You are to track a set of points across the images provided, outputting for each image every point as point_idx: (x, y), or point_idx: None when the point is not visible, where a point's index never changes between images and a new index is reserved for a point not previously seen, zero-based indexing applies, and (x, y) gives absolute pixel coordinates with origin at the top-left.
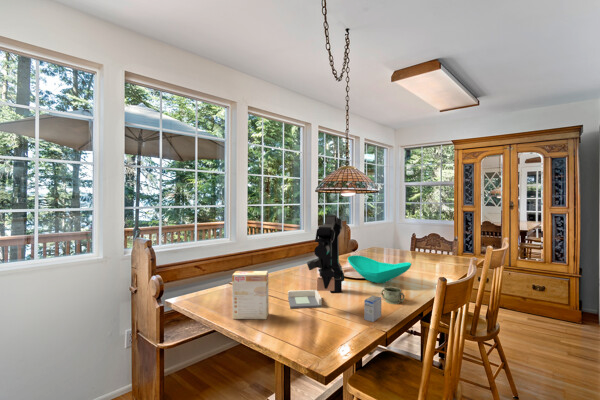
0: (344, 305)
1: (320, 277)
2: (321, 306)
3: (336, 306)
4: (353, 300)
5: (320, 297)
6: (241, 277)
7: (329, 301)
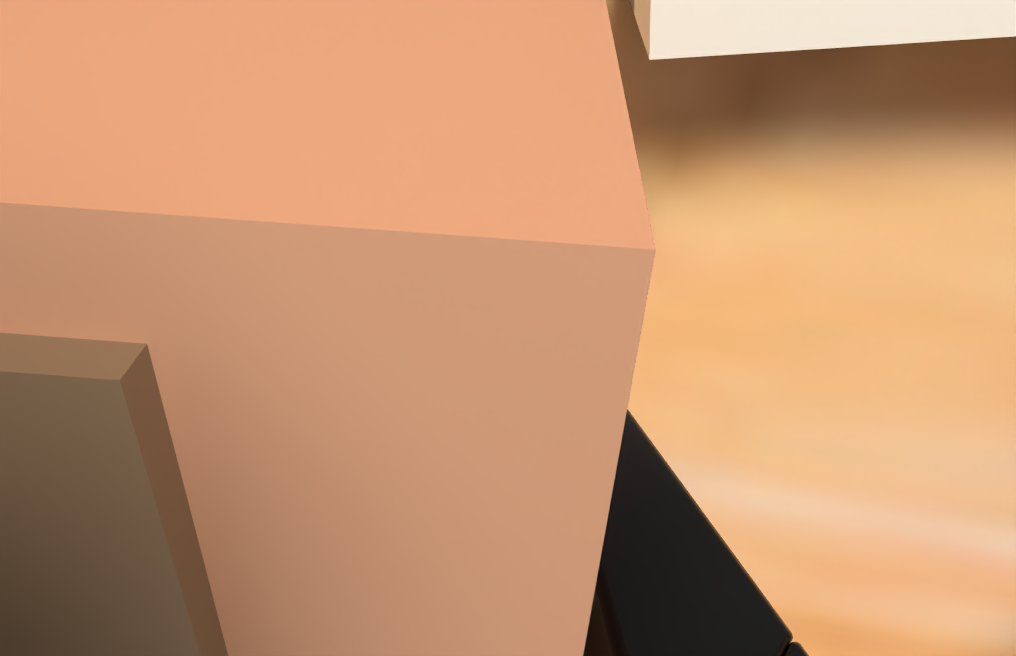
0: (667, 427)
1: (484, 611)
2: (633, 5)
3: None
4: (858, 569)
5: (782, 41)
6: None
7: (948, 223)
